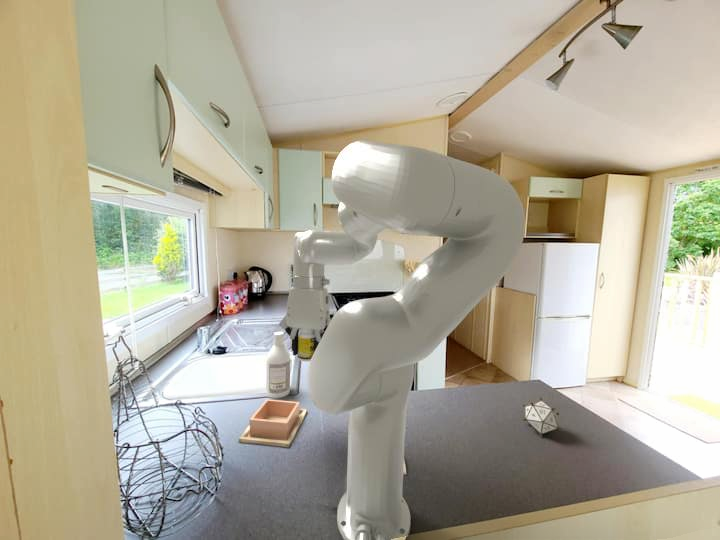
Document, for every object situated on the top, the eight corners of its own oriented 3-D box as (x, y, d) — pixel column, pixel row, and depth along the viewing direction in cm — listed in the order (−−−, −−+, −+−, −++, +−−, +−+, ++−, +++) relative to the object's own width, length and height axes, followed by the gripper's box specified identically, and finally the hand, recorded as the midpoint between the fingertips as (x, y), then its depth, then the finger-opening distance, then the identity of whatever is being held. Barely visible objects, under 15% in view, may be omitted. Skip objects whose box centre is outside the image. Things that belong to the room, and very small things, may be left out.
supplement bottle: (312, 363, 68) (312, 329, 67) (294, 360, 69) (294, 327, 68) (319, 355, 73) (320, 324, 72) (302, 353, 74) (303, 322, 73)
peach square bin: (286, 439, 66) (286, 423, 66) (249, 435, 67) (249, 419, 67) (299, 416, 75) (299, 402, 75) (266, 413, 76) (266, 399, 76)
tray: (288, 452, 64) (288, 443, 63) (238, 446, 65) (238, 438, 65) (307, 416, 77) (307, 409, 77) (265, 412, 79) (265, 405, 79)
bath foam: (293, 397, 87) (294, 333, 86) (271, 404, 83) (272, 337, 81) (284, 388, 92) (284, 328, 91) (263, 394, 88) (263, 332, 87)
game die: (534, 446, 73) (513, 417, 72) (532, 419, 80) (513, 392, 79) (572, 444, 68) (551, 413, 67) (567, 416, 75) (547, 386, 74)
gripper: (345, 282, 71) (343, 352, 73) (282, 279, 74) (281, 346, 76) (338, 287, 64) (336, 364, 66) (269, 282, 67) (268, 356, 68)
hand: (306, 353), depth 71 cm, fingers closed on supplement bottle, 4 cm apart
